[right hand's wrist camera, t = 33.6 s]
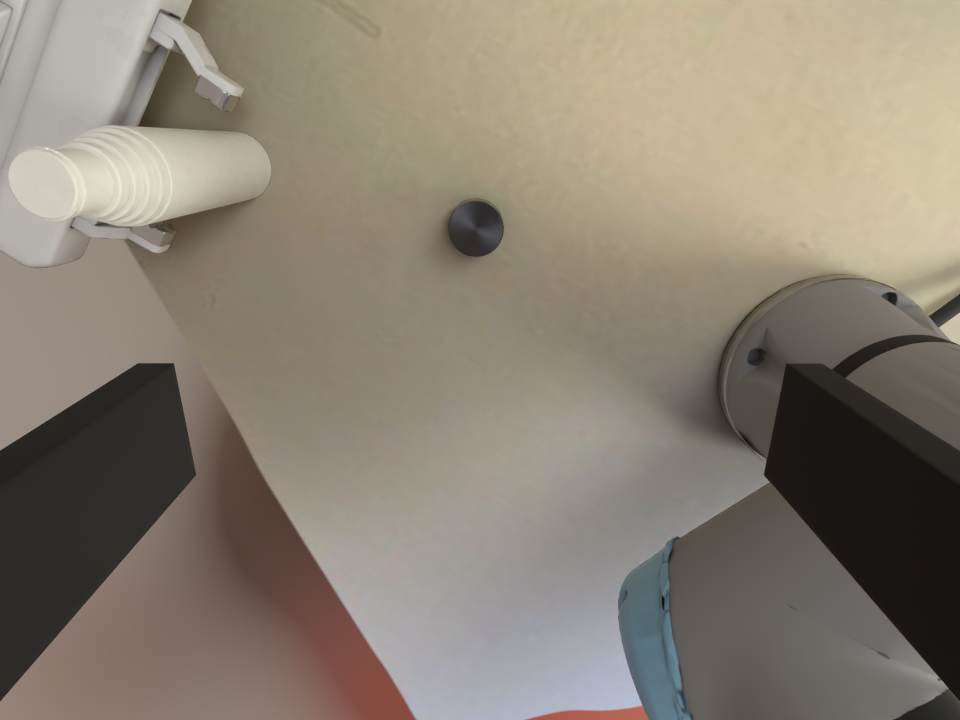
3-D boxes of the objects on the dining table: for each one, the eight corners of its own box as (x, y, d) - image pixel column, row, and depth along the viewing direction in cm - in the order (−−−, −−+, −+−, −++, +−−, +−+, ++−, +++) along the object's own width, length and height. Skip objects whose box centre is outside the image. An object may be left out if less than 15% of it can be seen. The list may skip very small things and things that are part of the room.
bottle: (191, 161, 39) (-45, 175, 21) (236, 116, 38) (27, 93, 20) (240, 213, 40) (54, 268, 23) (285, 171, 39) (127, 193, 22)
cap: (473, 262, 41) (473, 267, 40) (439, 222, 40) (437, 226, 39) (513, 228, 41) (514, 231, 39) (478, 186, 40) (478, 188, 38)
